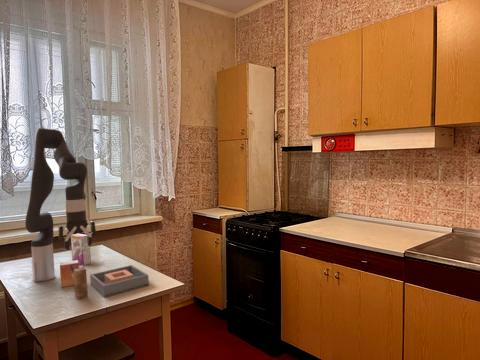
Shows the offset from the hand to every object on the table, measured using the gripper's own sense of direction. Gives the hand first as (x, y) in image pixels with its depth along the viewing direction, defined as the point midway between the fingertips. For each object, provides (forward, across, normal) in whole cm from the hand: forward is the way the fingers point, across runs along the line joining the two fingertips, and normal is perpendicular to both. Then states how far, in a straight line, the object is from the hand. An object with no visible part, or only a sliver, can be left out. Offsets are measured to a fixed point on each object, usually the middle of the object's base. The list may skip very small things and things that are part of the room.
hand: (78, 247), depth 146 cm
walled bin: (+21, -17, -2) cm, 27 cm away
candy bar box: (+22, -13, -52) cm, 58 cm away
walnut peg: (+21, 0, 0) cm, 21 cm away
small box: (+22, 0, -20) cm, 29 cm away
